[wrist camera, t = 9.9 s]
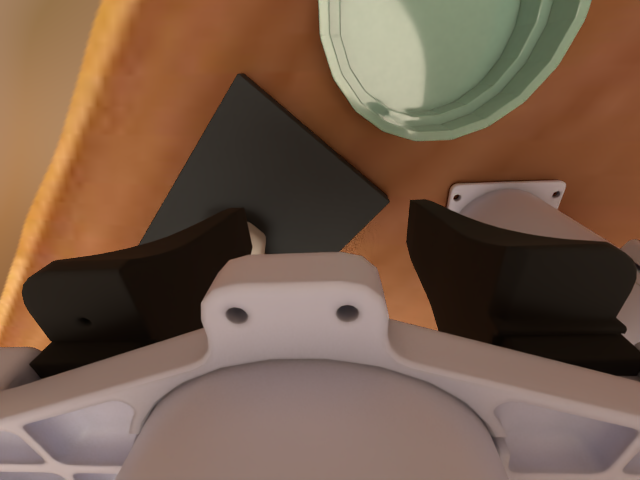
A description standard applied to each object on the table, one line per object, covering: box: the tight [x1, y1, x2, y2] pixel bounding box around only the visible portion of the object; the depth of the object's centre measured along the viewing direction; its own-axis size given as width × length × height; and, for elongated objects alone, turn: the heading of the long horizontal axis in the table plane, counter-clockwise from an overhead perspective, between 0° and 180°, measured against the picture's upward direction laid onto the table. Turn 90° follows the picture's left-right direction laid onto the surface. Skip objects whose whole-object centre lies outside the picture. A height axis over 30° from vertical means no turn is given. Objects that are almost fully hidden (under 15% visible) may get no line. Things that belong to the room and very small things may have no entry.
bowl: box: [318, 0, 592, 141], centre depth 15 cm, size 12×12×4 cm
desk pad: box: [139, 73, 389, 254], centre depth 24 cm, size 20×13×1 cm, turn 141°
